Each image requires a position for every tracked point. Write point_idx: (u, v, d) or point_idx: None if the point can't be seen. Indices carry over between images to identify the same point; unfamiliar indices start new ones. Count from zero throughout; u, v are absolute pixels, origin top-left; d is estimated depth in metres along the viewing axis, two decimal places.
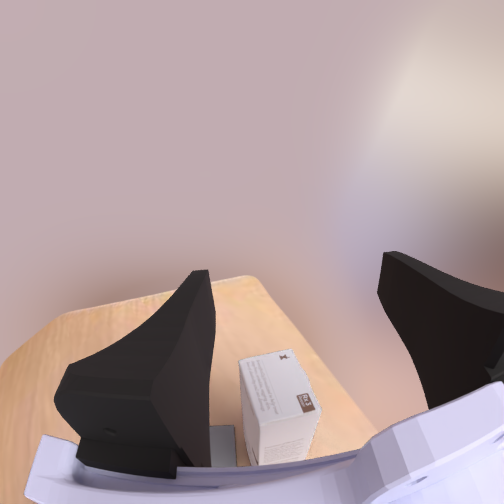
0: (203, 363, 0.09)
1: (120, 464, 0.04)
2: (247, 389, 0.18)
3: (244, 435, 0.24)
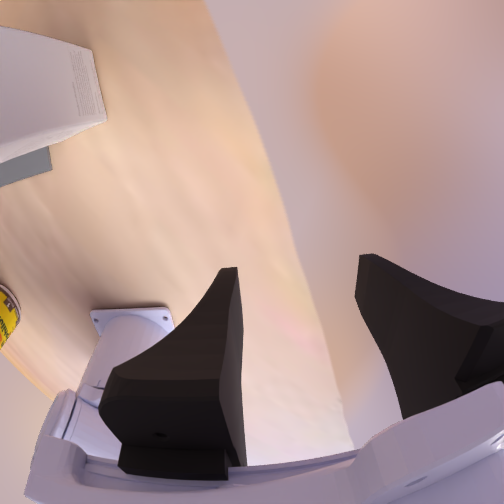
0: (237, 361, 0.09)
1: (169, 470, 0.04)
2: None
3: None
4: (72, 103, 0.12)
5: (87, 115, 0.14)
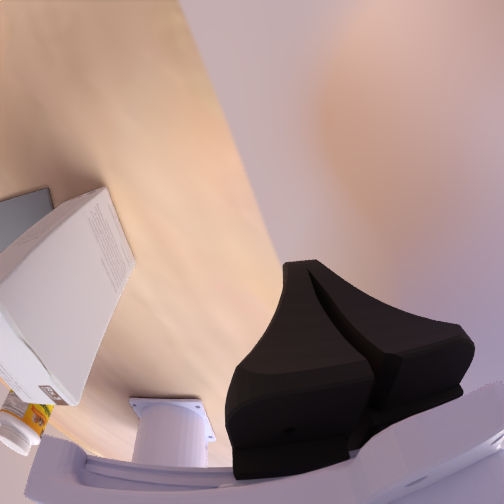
0: None
1: (294, 465, 0.04)
2: None
3: None
4: (108, 286, 0.15)
5: (121, 282, 0.16)
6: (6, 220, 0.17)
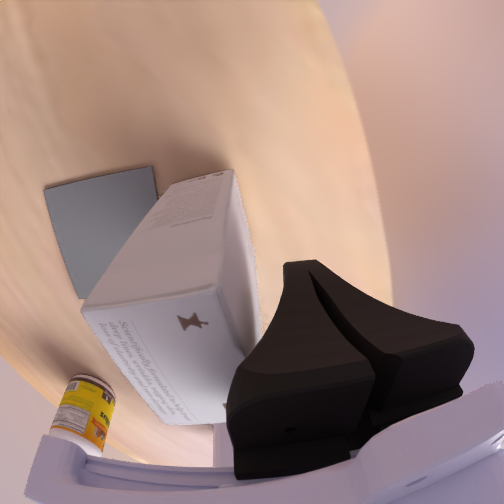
0: None
1: (294, 465, 0.04)
2: None
3: None
4: (254, 277, 0.15)
5: (256, 274, 0.16)
6: (84, 203, 0.17)
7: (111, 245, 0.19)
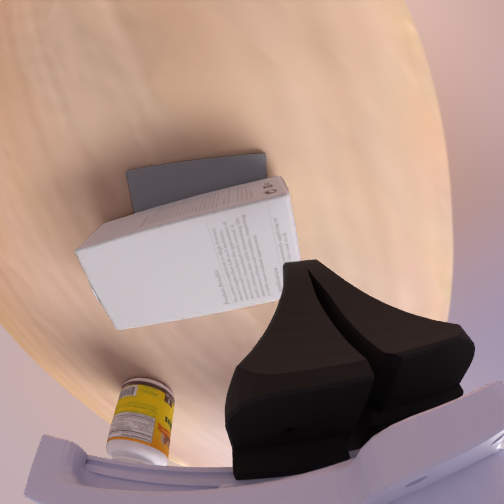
0: None
1: (293, 465, 0.04)
2: None
3: None
4: (212, 295, 0.16)
5: (245, 300, 0.16)
6: (180, 187, 0.17)
7: None
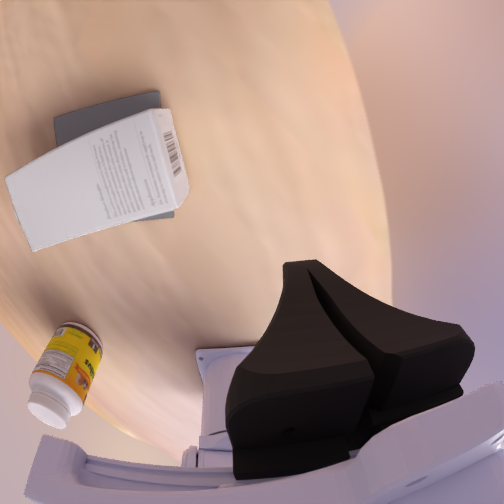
0: None
1: (293, 465, 0.04)
2: None
3: None
4: (97, 209, 0.16)
5: (124, 214, 0.16)
6: (91, 127, 0.17)
7: None
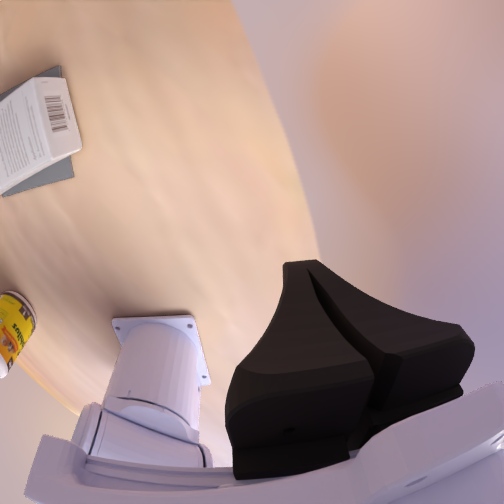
0: None
1: (293, 465, 0.04)
2: None
3: None
4: (0, 169, 0.14)
5: (17, 171, 0.14)
6: None
7: None
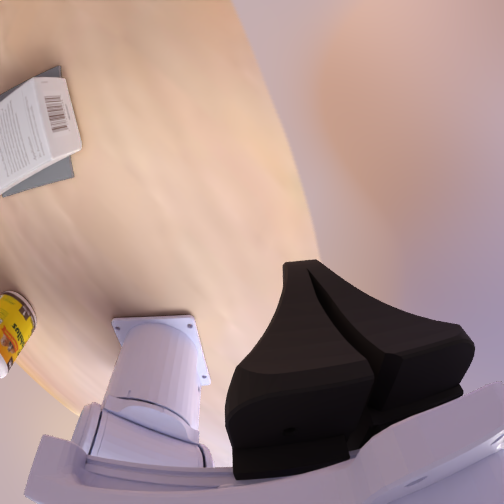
0: None
1: (293, 465, 0.04)
2: None
3: None
4: (0, 169, 0.14)
5: (17, 171, 0.14)
6: None
7: None
